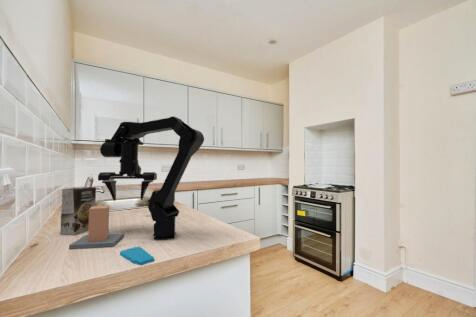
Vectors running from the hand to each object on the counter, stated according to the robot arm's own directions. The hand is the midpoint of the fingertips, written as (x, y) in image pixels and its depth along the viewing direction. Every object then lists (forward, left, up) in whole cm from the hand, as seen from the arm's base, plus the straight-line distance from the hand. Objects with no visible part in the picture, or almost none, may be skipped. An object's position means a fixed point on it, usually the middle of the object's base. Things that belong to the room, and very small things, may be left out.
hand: (128, 200), depth 83 cm
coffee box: (+19, -6, -12) cm, 23 cm away
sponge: (-9, +23, -13) cm, 28 cm away
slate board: (+6, +9, -12) cm, 16 cm away
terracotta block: (+6, +9, -11) cm, 15 cm away
